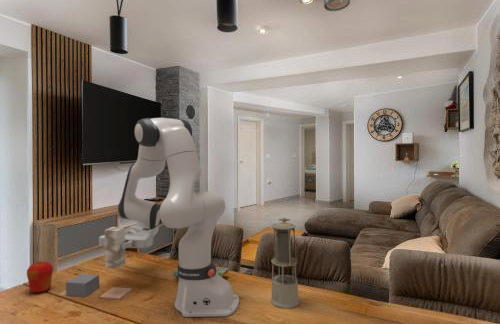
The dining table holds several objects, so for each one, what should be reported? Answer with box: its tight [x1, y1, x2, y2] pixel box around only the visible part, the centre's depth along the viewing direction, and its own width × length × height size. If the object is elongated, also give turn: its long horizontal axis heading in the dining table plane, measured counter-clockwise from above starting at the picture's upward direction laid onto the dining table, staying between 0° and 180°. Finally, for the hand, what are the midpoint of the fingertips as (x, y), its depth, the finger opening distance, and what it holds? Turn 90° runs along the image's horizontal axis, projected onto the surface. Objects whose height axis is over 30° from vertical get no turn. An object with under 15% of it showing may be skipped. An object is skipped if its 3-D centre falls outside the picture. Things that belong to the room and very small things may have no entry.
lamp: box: [269, 217, 301, 309], centre depth 113 cm, size 10×13×30 cm
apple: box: [26, 260, 54, 294], centre depth 122 cm, size 9×8×12 cm
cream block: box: [104, 226, 126, 270], centre depth 118 cm, size 5×5×14 cm
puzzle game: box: [172, 266, 230, 281], centre depth 133 cm, size 12×5×20 cm
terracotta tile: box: [99, 286, 133, 301], centre depth 119 cm, size 8×8×1 cm
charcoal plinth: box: [65, 273, 100, 298], centre depth 121 cm, size 8×8×5 cm
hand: (113, 246), depth 117 cm, fingers closed on cream block, 5 cm apart
